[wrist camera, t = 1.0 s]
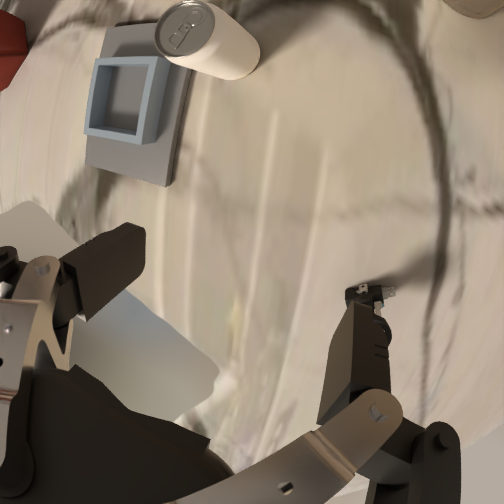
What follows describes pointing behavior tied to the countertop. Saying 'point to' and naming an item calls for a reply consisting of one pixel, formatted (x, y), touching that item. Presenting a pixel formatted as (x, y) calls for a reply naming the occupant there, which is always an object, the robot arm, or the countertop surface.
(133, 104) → the housing
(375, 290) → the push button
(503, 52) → the countertop surface
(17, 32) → the plant pot
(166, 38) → the can
